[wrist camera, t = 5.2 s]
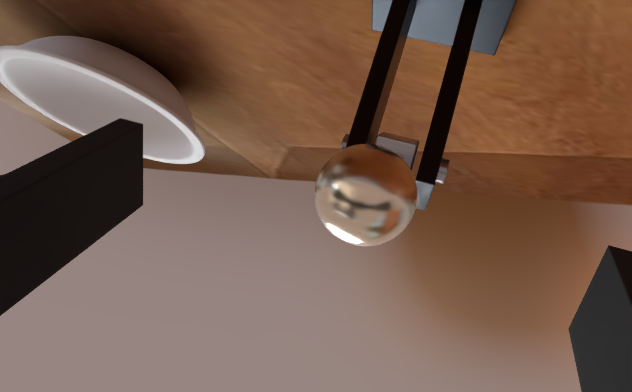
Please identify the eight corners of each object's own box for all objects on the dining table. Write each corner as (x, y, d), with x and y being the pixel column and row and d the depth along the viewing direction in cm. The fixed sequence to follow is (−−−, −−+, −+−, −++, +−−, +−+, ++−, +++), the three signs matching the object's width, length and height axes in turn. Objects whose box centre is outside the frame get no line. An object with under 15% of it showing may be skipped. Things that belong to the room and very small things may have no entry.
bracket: (380, -110, 30) (297, 123, 26) (546, -83, 29) (488, 171, 24) (375, 16, 40) (316, 198, 36) (498, 42, 39) (451, 234, 35)
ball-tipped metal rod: (316, 136, 17) (293, 241, 18) (428, 164, 17) (398, 271, 18) (373, 118, 32) (359, 177, 33) (434, 133, 31) (417, 192, 32)
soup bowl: (-24, -42, 50) (-59, 16, 48) (224, 49, 52) (199, 109, 50) (53, 77, 73) (31, 119, 71) (224, 137, 75) (207, 181, 73)
